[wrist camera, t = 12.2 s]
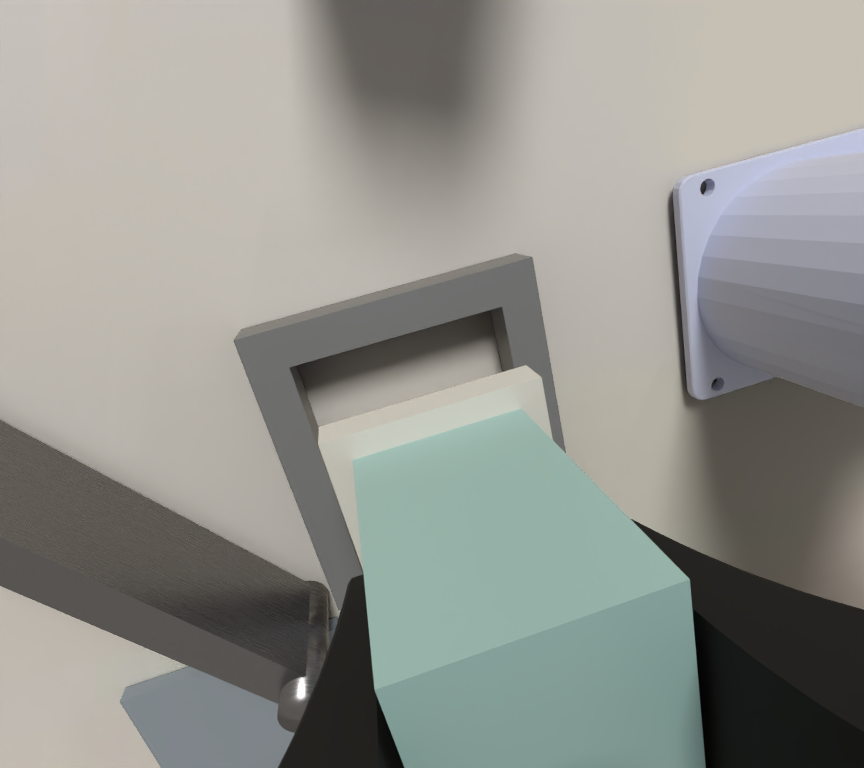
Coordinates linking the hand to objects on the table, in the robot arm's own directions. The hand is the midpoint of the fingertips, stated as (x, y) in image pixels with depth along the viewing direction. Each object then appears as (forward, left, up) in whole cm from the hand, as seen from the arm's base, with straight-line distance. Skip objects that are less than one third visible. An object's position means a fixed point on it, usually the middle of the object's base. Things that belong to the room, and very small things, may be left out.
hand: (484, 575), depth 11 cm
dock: (0, 0, -8) cm, 8 cm away
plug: (0, 0, -3) cm, 3 cm away
